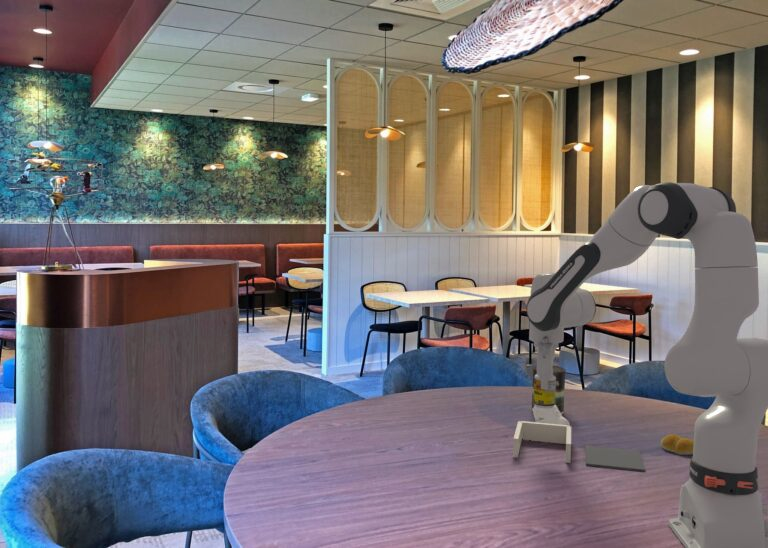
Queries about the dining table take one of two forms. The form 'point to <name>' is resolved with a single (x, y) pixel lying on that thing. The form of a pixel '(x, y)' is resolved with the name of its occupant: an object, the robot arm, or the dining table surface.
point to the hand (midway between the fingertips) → (544, 385)
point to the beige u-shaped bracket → (542, 435)
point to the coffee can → (560, 387)
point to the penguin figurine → (549, 416)
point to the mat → (614, 458)
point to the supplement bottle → (544, 392)
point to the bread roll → (677, 444)
